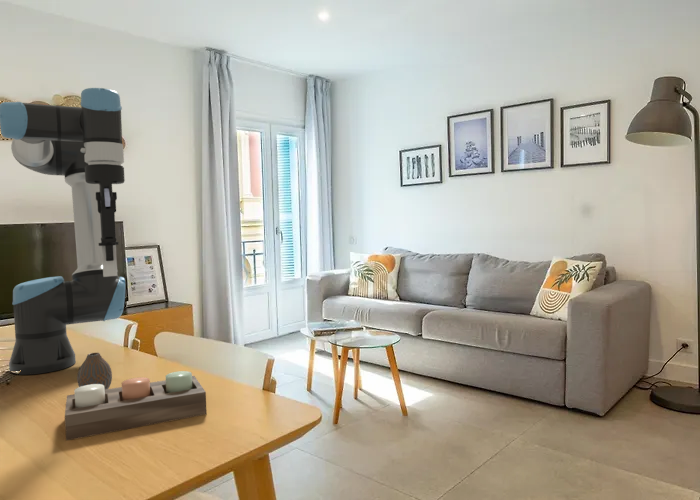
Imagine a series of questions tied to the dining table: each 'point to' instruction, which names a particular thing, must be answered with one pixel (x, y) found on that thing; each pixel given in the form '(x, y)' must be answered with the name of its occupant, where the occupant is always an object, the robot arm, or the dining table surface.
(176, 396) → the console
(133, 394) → the button terracotta
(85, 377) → the vase
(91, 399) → the button cream
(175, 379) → the button sage
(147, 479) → the dining table surface
